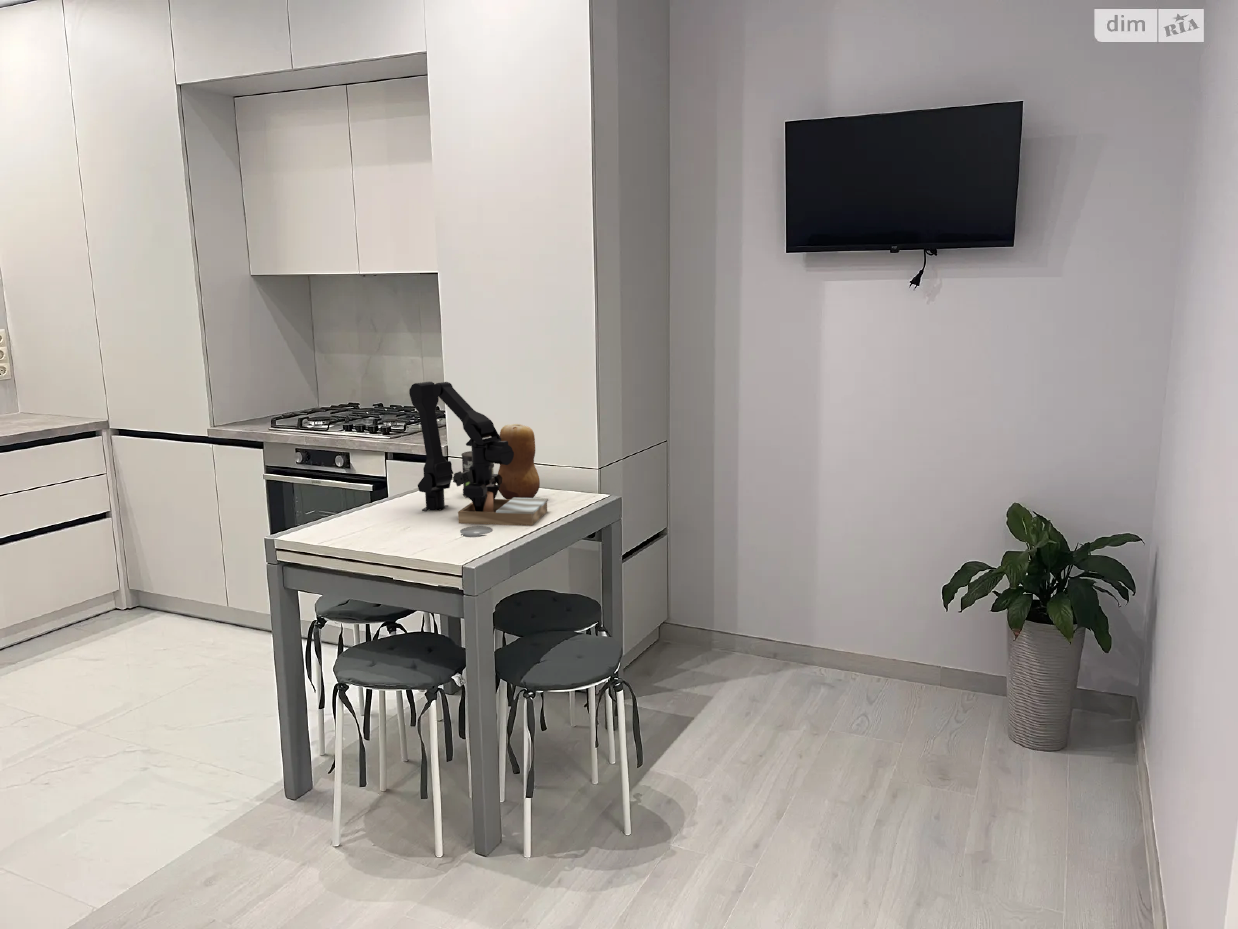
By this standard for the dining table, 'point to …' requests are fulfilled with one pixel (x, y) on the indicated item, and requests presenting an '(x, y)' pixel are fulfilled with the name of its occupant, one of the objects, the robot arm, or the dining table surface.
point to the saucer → (475, 531)
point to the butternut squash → (519, 463)
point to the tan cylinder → (489, 503)
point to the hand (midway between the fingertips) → (484, 513)
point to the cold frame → (506, 512)
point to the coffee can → (467, 463)
